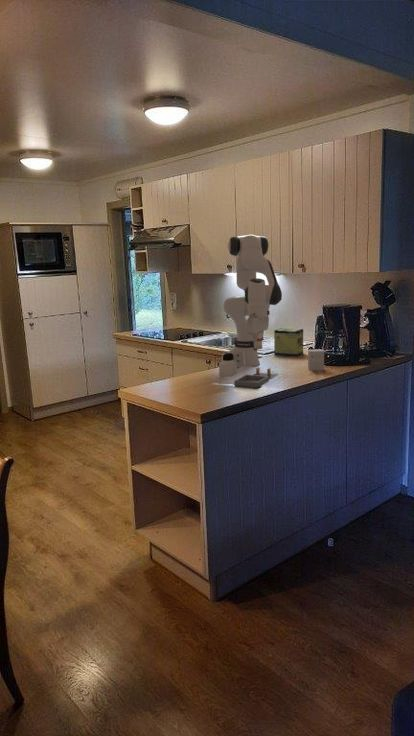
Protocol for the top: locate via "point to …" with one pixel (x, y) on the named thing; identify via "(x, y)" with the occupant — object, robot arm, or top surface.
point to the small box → (316, 359)
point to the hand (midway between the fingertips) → (257, 341)
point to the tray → (251, 381)
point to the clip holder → (265, 373)
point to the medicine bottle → (227, 365)
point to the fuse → (258, 344)
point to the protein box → (288, 342)
